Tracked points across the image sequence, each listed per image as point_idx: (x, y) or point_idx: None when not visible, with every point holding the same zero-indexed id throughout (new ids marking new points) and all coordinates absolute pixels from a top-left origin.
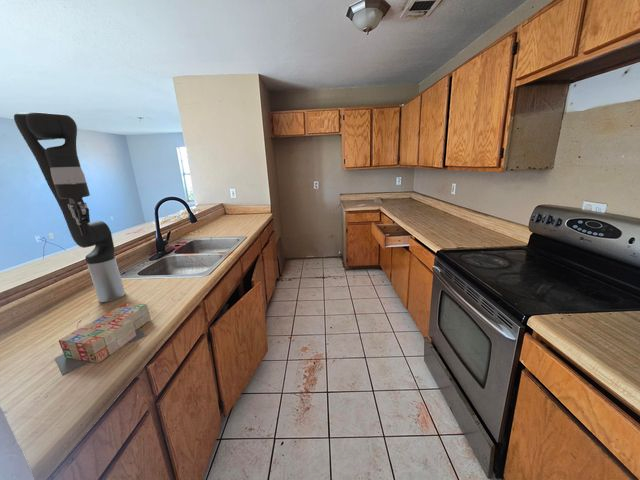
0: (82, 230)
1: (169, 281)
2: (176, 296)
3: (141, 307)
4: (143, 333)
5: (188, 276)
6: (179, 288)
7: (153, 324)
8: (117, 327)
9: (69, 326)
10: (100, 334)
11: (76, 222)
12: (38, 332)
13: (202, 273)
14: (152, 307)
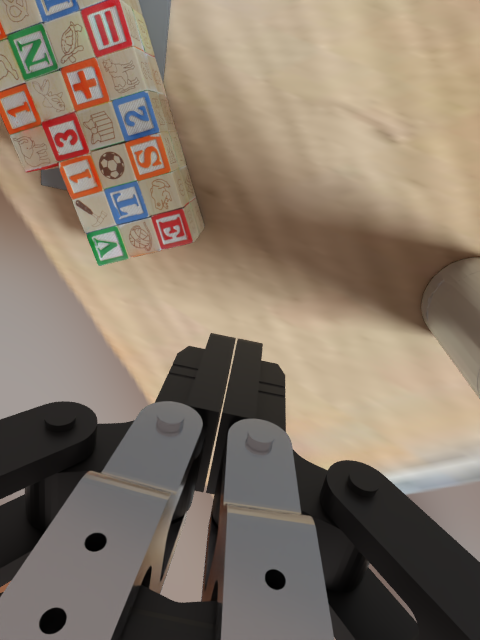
0: (196, 372)
1: (357, 453)
2: None
3: (91, 243)
4: (54, 185)
5: None
6: None
7: None
8: (14, 117)
9: (387, 94)
10: (5, 56)
11: (264, 440)
12: (476, 5)
13: None
14: (211, 304)
